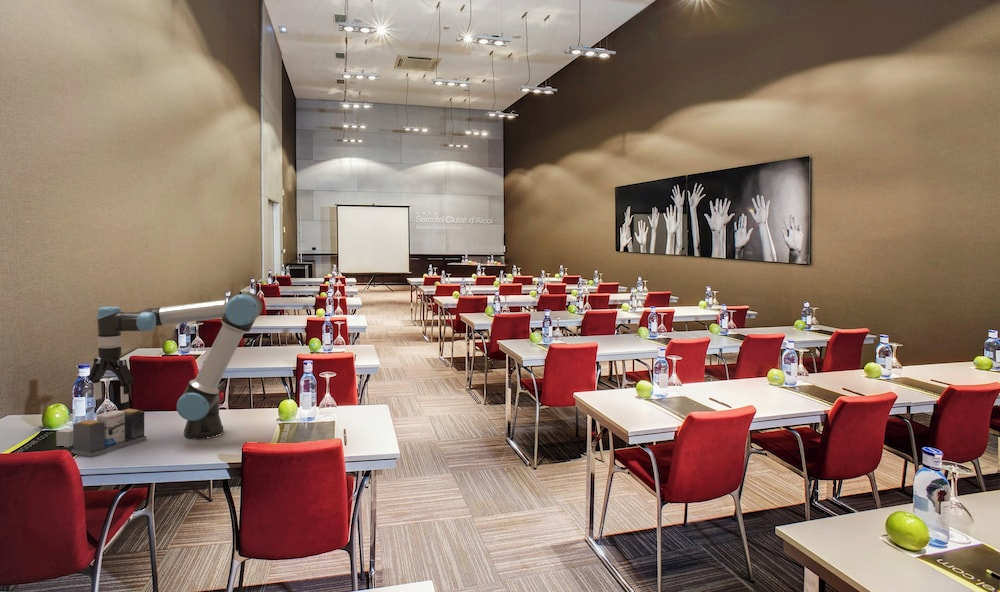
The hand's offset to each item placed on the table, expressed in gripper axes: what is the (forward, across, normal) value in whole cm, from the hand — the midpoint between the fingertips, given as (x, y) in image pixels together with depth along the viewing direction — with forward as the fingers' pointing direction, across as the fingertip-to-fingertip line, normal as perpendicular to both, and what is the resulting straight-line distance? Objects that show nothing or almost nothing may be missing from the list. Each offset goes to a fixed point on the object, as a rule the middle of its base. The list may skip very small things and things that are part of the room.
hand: (111, 400), depth 240 cm
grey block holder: (+18, +1, 0) cm, 18 cm away
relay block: (+18, +17, +5) cm, 25 cm away
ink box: (+17, 0, 0) cm, 17 cm away
